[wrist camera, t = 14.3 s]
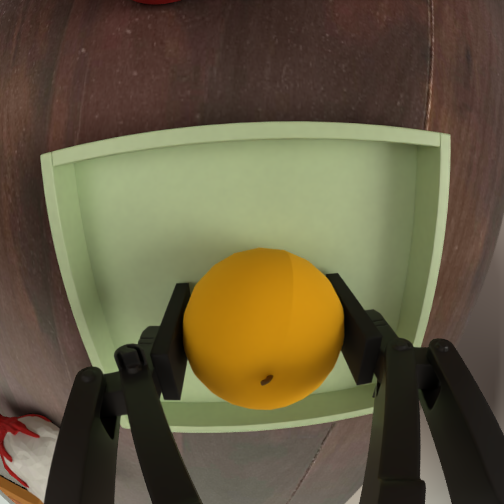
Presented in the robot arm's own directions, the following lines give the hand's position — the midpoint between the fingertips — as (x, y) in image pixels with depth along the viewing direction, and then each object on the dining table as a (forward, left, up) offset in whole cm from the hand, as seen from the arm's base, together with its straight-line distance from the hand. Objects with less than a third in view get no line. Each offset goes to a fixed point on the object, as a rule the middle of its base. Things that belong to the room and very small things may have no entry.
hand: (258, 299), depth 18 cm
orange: (0, 0, 0) cm, 0 cm away
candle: (+24, +17, -1) cm, 30 cm away
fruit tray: (0, 0, -1) cm, 1 cm away
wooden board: (+54, +60, -1) cm, 81 cm away
